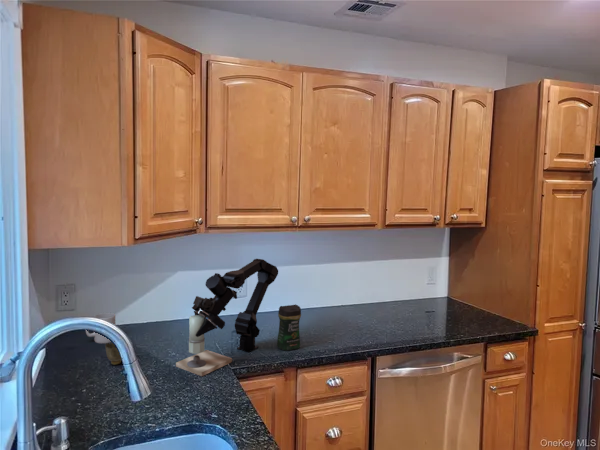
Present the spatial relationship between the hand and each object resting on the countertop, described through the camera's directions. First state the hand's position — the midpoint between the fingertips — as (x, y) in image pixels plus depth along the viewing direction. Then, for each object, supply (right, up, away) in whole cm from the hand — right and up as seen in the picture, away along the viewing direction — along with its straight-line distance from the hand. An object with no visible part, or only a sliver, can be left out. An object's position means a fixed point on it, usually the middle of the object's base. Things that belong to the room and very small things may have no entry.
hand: (193, 333), depth 166 cm
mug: (-47, -10, +27) cm, 55 cm away
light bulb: (+1, -7, +1) cm, 7 cm away
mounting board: (+3, -13, +6) cm, 15 cm away
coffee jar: (+35, -12, +25) cm, 45 cm away
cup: (-31, -13, +4) cm, 33 cm away
